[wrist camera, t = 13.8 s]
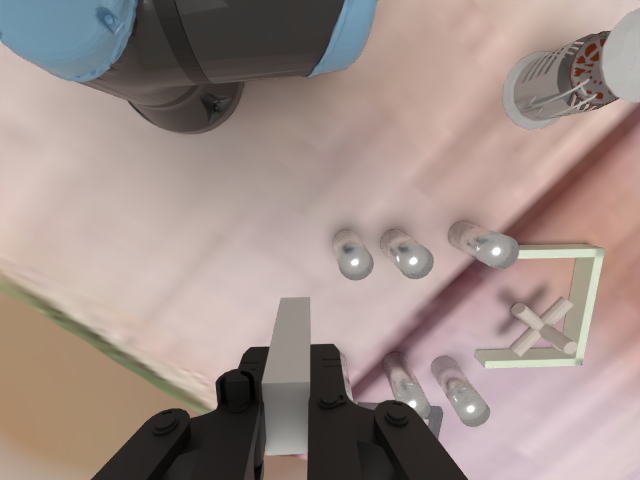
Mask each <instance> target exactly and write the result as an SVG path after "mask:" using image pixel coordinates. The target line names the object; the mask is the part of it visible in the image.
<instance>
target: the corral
mask: <svg viewBox="0 0 640 480" xmlns="http://www.w3.org/2000/svg"><path fill="white" fill-rule="evenodd" d="M518 246H519V255H518V258H517V259H523V258H572V257H576V262H575V268H574V273H573V279H572V284H571V290H570V296H569V301H570V302H571V303H572V304H573V305H574V306H573V307H572V308H571V309H570V310H569V311H568V312H567V313H566V318H565V324H564V329H563V334H564V335H565V336H567V337H568V338H570V339H571V340H573V341H574V342H576V343H577V345H578V347H577V350H576V351H575V352H574V353H572V354H566V353H565V352H563V351H558V350H556V349H555V348H534V349H528V350H527V351H526V352H525V353H524V354H523V355H522V356H521V357H520V356H519V355H518V354H517V353H515V352H514V351H513V350H512V349H499V350H475V358H476V359H477V360H478V361H479V362H480V363H481V365H482V366H483V367H484V368H512V367H545V366H579V365H582V362H583V357H584V352H585V347H586V341H587V336H588V331H589V326H590V321H591V316H592V311H593V306H594V301H595V296H596V291H597V286H598V281H599V276H600V271H601V266H602V261H603V256H604V251H605V249H604V248H601V247H597V246H593V245H590V244H544V245H518Z"/></svg>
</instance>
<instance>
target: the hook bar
mask: <svg viewBox="0 0 640 480" xmlns="http://www.w3.org/2000/svg"><path fill="white" fill-rule="evenodd" d="M378 404H379V403H361V402H358V405H359V406H361V407H364V408H367V409H372V410H375V408H376V407H377V406H378ZM442 417H443V411H442V409H441V407H439V406H430V413H429V415H428V416H427V417H426V418H425V419H429V425H428V428H429V429H430V430H431V431H432V433H433V434H434V435H435V437H436V438H437V439H438V437H439V432H440V427H441V422H442Z"/></svg>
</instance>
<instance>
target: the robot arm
mask: <svg viewBox="0 0 640 480" xmlns="http://www.w3.org/2000/svg"><path fill="white" fill-rule="evenodd" d="M376 5H377V0H0V41H1V42H2V43H3V44H4V45H5V46H7V47H8V48H9V49H11V50H12V51H13V52H14V53H15V54H17V55H19V56H20V57H22V58H23V59H25V60H27V61H29V62H31V63H33V64H35V65H37V66H39V67H41V68H42V69H44V70H46V71H48V72H49V73H51V74H52V75H55V76H57V77H59V78H61V79H65V80H67V81H75V82H78V83H80V84H83V85H86V86H89V87H92V88H94V89H97V90H100V91H103V92H105V93H108V94H111V95H114V96H117V97H119V98H122V99H125V100H127V101H128V102H129V104H130V105H131V106H132V107H133V108H134V109H135V110H136V111H137V112H138V113H139V114H140V115H141V116H142V117H143V118H145V119H146V120H148V121H149V122H151V123H152V124H154V125H156V126H158V127H160V128H163V129H165V130H169V131H172V132H176V133H181V134H199V133H203V132H207V131H209V130H212V129H214V128H216V127H217V126H219V125H220V124H222V123H223V122H224V121H225V120H226V119H227V118H228V117H229V116H230V115H231V114H232V112H233V111H234V109H235V108H236V106H237V104H238V102H239V99H240V96H241V93H242V88H243V81H250V80H261V79H272V78H282V77H293V76H303V77H304V78H310V77H312V76H315V75H316V74H320V73H327V72H334V71H340V70H344V69H346V68H347V67H349V66H350V65H351V64H352V63H354V62H355V61H356V60H357V59H358V57H359V56H360V54H361V52H362V50H363V48H364V46H365V44H366V41H367V39H368V36H369V33H370V29H371V26H372V22H373V18H374V14H375V9H376ZM216 392H217V402H218V406H217V408H216V410H214V411H212V412H210V413H207V414H204V415H201V416H198V417H194V418H190V416H189V414H188V413H187V411H185V410H182V409H168V410H164V411H161V412H159V413H158V414H156V415H154V416H152V417H151V418H150V419H149V420H148V421H146V422H145V423H144V425H142V427H141V428H140V429H139V430H138V431H137V432H136V433H135V434H134V435H133V436H132V437H131V438H130V439H129V440H128V441H127V442H126V443H125V444H124V446H122V448H121V449H120V450H119V451H118V452H117V453H116V454H115V455H114V456H113V457H112V458H111V459H110V460H109V461H108V462H107V463H106V464H105V465H104V466H103V468H102V469H101V470H100V471H99V472H98V473H97V474H96V475H95V476H94V477H93V478H92V479H91V480H263V475H264V461H263V457H264V451H265V446H266V455H286V454H308V471H307V480H468V479H467V477H466V476H465V475H464V474H463V472H462V471H461V470H460V468H459V467H458V466H457V464H456V463H455V462H454V460H453V459H452V458H451V456H450V455H449V454H448V453H447V451H446V450H445V449H444V447H443V446H442V445H441V443H440V442H439V441H438V439H437V438H436V437H435V435H434V434H433V433H432V431H431V430H430V429H429V428H428V426H427V425H426V424H425V422H424V421H423V420H422V418H421V417H420V416H419V414H418V413H417V412H416V411H415V410H414V409H413V408H412V407H411V406H410V405H408V404H406V403H404V402H401V401H396V400H386V401H384V402H381V403H379V404H378V406H377V407H376V408H375V410H372V409H367V408H364V407H361V406H359V405H357V404H355V403H354V402H352V401H351V400H350V399H349V397H348V395H347V393H346V389H345V383H344V377H343V371H342V364H341V358H340V352H339V350H338V349H337V347H336V346H335V345H334V344H312V345H311V324H310V297H301V298H281V300H280V304H279V309H278V313H277V318H276V322H275V326H274V331H273V335H272V340H271V344H270V347H250V348H249V349H248V350H247V351H246V352H245V353H244V354H243V356H242V359H241V362H240V364H239V367H238V369H233V370H231V371H228V372H226V373H224V374H223V375H221V376H220V377H219V378H218V380H217V381H216Z"/></svg>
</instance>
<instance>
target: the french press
mask: <svg viewBox="0 0 640 480" xmlns="http://www.w3.org/2000/svg"><path fill="white" fill-rule="evenodd" d="M575 42H585V43H584V44H583V45H581V44H574V43H575ZM571 46H572V47H578V48H579V49H578V50H575V49H571V48H570V47H571ZM564 47H565V48H563V47H562V48H560V49H558V50H555V51H556V52H554V51H553V52H550V51H546V52H534V53H532V54H530V55H528V56H526V57H524V58H522V59H521V60H520V61H519V62H518V63H517V64H516V65H515V66H514V67H513V68H512V69H511V70H510V72H509V74H508V77H507V79H506V81H505V83H504V86H503V104H504V108H505V111H506V114H507V116H508V117H509V118H510V119H511V120H512V121H513V122H514V123H515V124H516V125H518V126H520V127H523V128H525V129H528V130H531V129H543V128H545V127H547V126H549V125H551V124H553V123H555V122H556V121H557V120H558V119H559V118H560V117H562V115H564V116H567V115H572V114H571V113H573V114H576V113H581V112H586V111H587V110H589V109H590V108H592V107H593V106H596V107H595V108H593V109H592V110H595V109H599V108H601V107H603V106H605V105H607V104H609V103H611V102H613V101H615V100H617V99H619V98H621V99H623V100H625V101H627V102H629V103H630V102H640V8H638V9H636V10H634V11H632V12H630V13H628V14H627V15H626V16H625V17H624V18H623V19H622V20H621V21H620V22H619V23H618V24H617V25H616V26H615V27H614V28H613V29H612V30H611V31H603V32H600V33H598V34H590V35H588V36H586V37H583V38H581V39H579V40H576V41H574V42H572V43H570V44H568V45H566V46H564ZM560 50H562V51H561V52H559V51H560ZM567 51H569V52H573V53H575V54H573V55H570V54H567V53H566V52H567ZM557 54H559V55H557ZM564 56H566V58H563V57H564ZM574 94H575V95H576V96H577V98H576V101H575V104H574V106H573V107H570V106H571V103H572V100H573V97H574ZM580 101H582V102H581V103H580V104H579V102H580ZM586 104H590V105H589V107H588V108H587V109H585V110H583V109H584V108H585V106H586ZM580 105H581V107H580V109H579V110H577V109H576V108H577V107H578V106H580ZM581 110H583V111H581ZM589 111H591V110H589ZM567 113H568V114H567Z"/></svg>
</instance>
